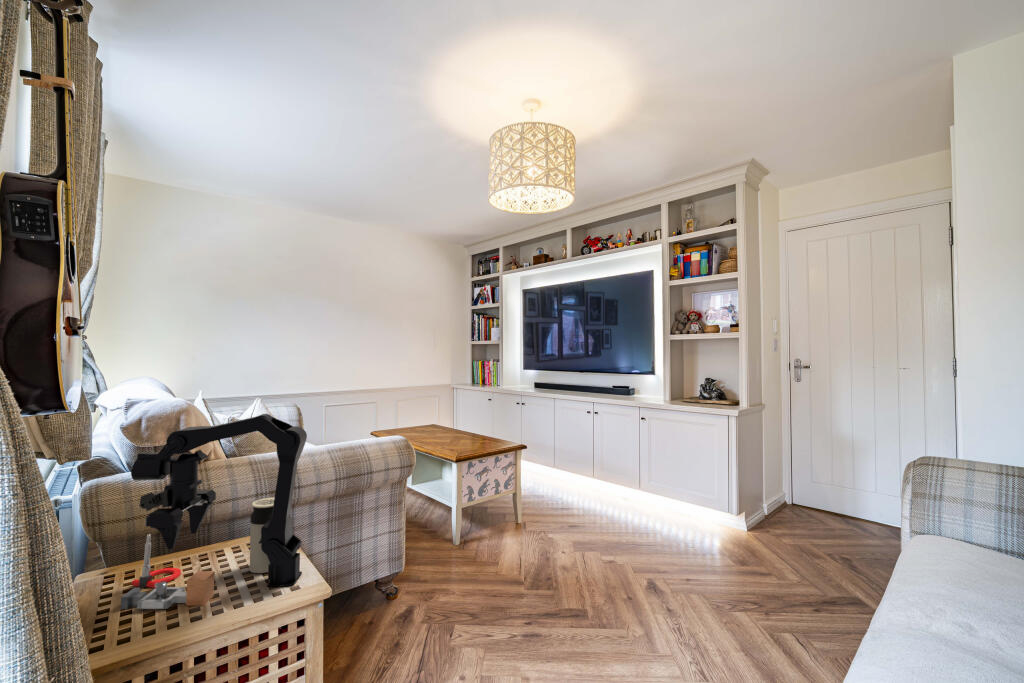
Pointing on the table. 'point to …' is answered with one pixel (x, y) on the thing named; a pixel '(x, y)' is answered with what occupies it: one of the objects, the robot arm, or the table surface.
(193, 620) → the table surface
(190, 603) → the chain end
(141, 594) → the hook
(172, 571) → the tow hook
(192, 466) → the robot arm
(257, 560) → the travel mug
